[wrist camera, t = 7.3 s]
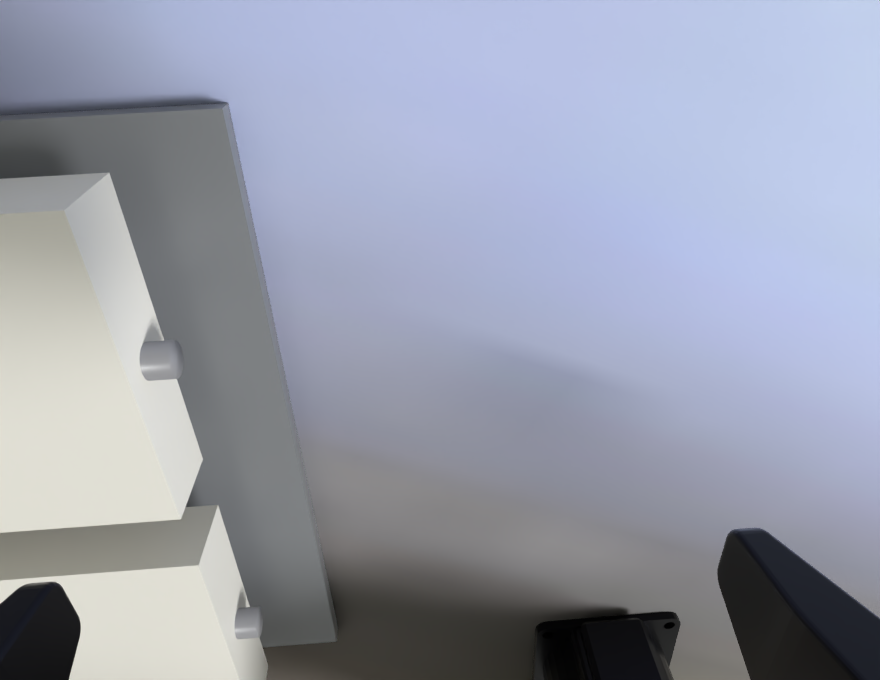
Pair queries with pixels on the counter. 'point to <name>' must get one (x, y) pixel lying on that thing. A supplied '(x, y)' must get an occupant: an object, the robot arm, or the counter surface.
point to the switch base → (206, 331)
